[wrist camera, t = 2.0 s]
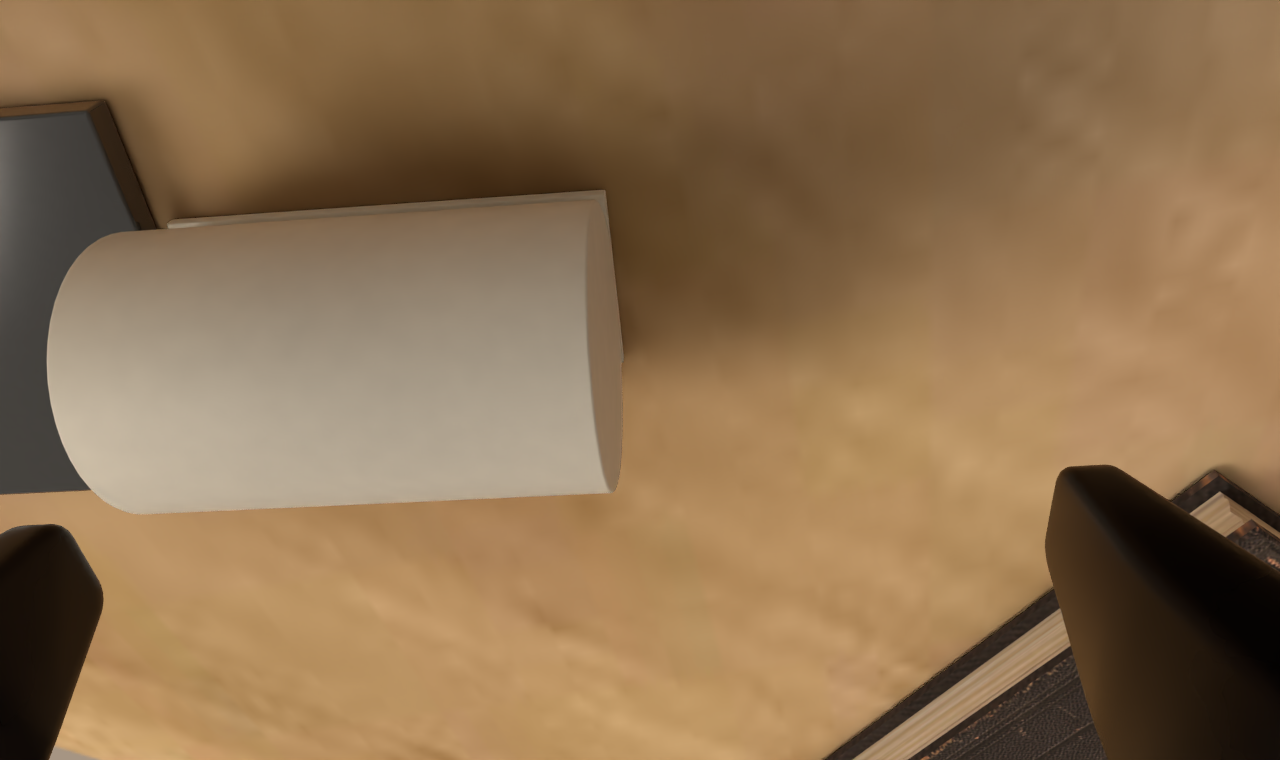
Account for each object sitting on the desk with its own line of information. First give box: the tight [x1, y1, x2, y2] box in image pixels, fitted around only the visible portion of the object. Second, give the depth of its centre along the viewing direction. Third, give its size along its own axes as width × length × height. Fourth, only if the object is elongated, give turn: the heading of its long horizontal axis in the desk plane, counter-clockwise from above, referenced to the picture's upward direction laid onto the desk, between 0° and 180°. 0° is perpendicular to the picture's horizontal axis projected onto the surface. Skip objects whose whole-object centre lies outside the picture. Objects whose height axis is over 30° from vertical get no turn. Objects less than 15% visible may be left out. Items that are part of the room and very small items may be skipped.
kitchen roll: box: [47, 190, 624, 514], centre depth 20 cm, size 10×6×6 cm, turn 95°
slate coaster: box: [0, 100, 157, 495], centre depth 23 cm, size 8×10×1 cm
